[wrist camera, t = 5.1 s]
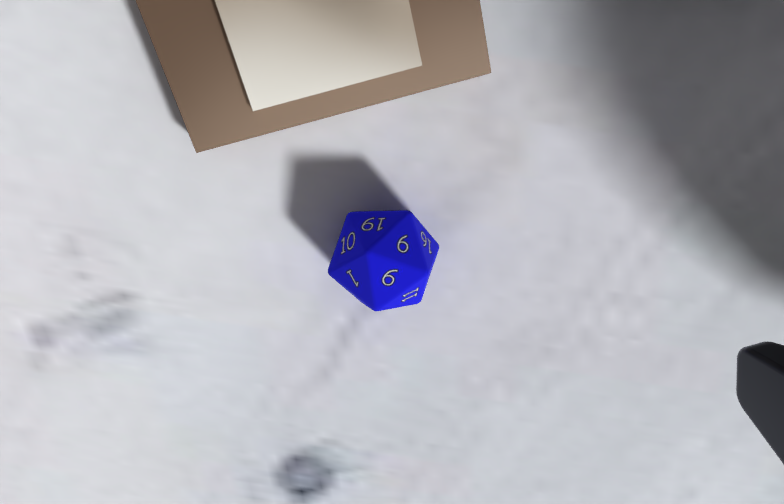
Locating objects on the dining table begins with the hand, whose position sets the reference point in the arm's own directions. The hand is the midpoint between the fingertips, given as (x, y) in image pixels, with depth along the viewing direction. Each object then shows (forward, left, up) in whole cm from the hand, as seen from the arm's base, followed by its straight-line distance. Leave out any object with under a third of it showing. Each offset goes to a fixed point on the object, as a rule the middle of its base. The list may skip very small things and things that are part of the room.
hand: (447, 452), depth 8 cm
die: (0, 0, -8) cm, 8 cm away
